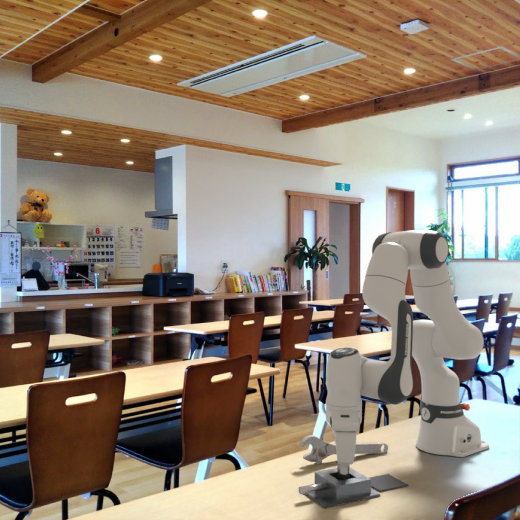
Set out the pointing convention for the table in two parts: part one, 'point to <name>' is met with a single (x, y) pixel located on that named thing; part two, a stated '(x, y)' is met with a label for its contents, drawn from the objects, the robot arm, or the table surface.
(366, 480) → the grey square socket base
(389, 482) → the mat
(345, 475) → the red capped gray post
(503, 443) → the table surface
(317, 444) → the wrench
